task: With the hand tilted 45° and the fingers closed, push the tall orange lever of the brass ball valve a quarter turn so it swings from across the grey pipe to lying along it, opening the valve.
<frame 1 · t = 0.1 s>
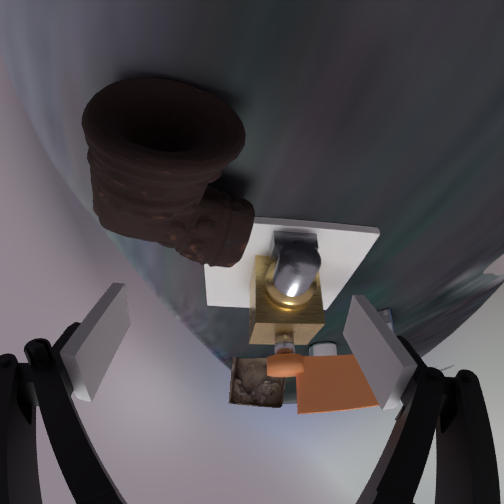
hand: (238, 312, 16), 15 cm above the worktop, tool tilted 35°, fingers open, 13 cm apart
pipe: (178, 161, 25), point 1 cm above the worktop
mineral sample: (259, 356, 82), on the worktop
mount board: (280, 266, 41), on the worktop
valve: (283, 311, 37), on the mount board, point 7 cm above the worktop
can: (322, 344, 73), on the worktop
lever: (336, 383, 32), point 17 cm above the worktop, hinge at 90.0°
label tape cartridge: (382, 315, 58), on the worktop
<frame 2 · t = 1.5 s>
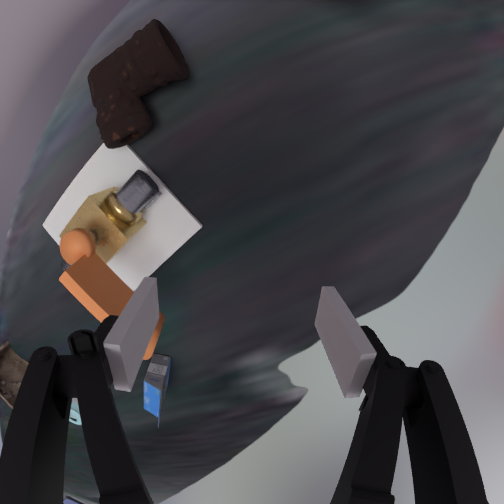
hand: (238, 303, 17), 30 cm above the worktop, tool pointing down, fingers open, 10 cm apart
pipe: (142, 88, 38), on the worktop, touching mount board
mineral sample: (27, 360, 55), on the worktop
mount board: (117, 219, 45), on the worktop
valve: (100, 230, 38), on the mount board, point 7 cm above the worktop
can: (89, 380, 57), on the worktop
lever: (104, 292, 31), point 17 cm above the worktop, hinge at 90.0°
label tape cartridge: (161, 368, 56), on the worktop
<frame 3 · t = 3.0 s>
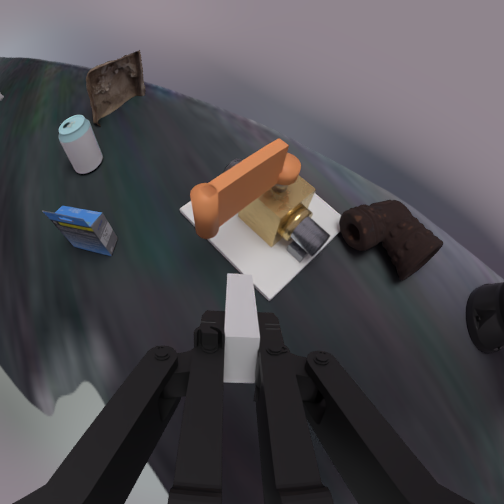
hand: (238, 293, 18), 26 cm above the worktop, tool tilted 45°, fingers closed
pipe: (382, 245, 51), on the worktop, touching mount board
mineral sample: (120, 108, 64), on the worktop
mount board: (269, 221, 52), on the worktop
valve: (275, 198, 46), on the mount board, point 7 cm above the worktop
can: (89, 164, 55), on the worktop
lever: (252, 179, 35), point 17 cm above the worktop, hinge at 90.0°
label tape cartridge: (95, 243, 47), on the worktop
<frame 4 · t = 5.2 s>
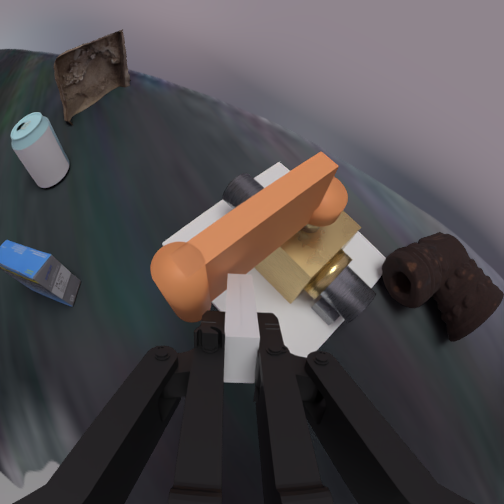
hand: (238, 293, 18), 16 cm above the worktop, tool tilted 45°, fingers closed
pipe: (429, 292, 37), on the worktop, touching mount board
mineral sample: (99, 102, 49), on the worktop
mount board: (288, 262, 37), on the worktop
valve: (300, 237, 31), on the mount board, point 7 cm above the worktop
can: (54, 174, 40), on the worktop
lever: (271, 223, 20), point 17 cm above the worktop, hinge at 88.7°, touching gripper
label tape cartridge: (54, 285, 33), on the worktop
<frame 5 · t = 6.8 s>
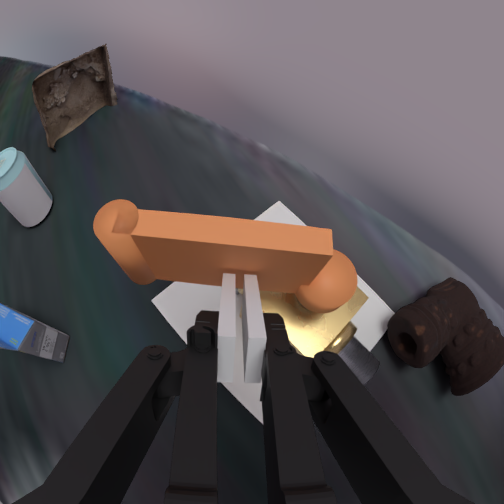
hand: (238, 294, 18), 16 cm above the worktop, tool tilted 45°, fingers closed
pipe: (435, 342, 33), on the worktop, touching mount board
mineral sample: (84, 124, 46), on the worktop
mount board: (287, 320, 34), on the worktop
valve: (301, 306, 28), on the mount board, point 7 cm above the worktop
can: (37, 210, 37), on the worktop
lever: (239, 258, 19), point 17 cm above the worktop, hinge at 42.6°, touching gripper
label tape cartridge: (43, 338, 30), on the worktop
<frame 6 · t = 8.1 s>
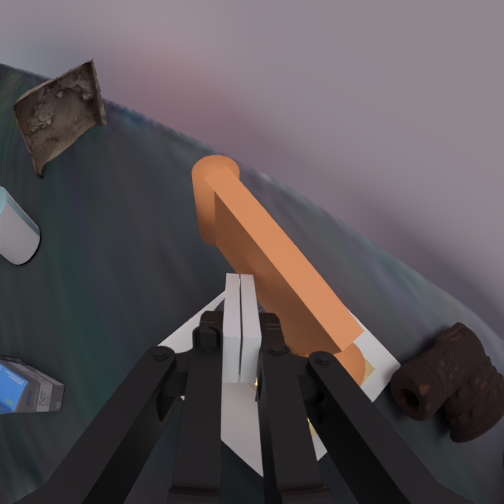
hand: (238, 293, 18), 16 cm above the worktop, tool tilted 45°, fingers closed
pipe: (437, 388, 31), on the worktop, touching mount board
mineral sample: (73, 146, 43), on the worktop
mount board: (288, 374, 31), on the worktop
valve: (303, 373, 25), on the mount board, point 7 cm above the worktop
can: (25, 245, 34), on the worktop
lever: (281, 287, 18), point 16 cm above the worktop, hinge at -6.5°
label tape cartridge: (39, 384, 27), on the worktop
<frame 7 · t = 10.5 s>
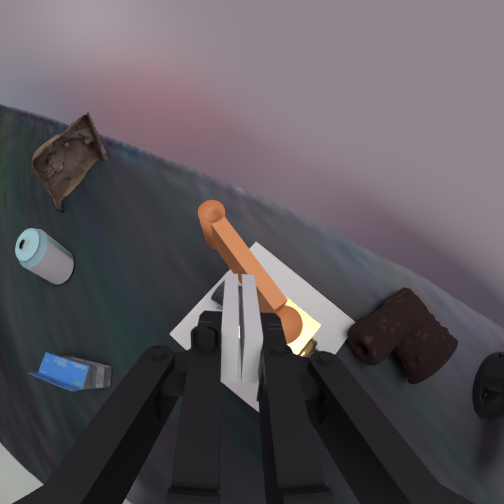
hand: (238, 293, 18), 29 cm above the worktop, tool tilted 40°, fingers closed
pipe: (393, 341, 45), on the worktop, touching mount board
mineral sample: (83, 182, 55), on the worktop
mount board: (270, 336, 45), on the worktop
valve: (275, 332, 39), on the mount board, point 7 cm above the worktop
can: (61, 268, 48), on the worktop
lever: (249, 275, 32), point 17 cm above the worktop, hinge at -13.8°
label tape cartridge: (90, 371, 42), on the worktop
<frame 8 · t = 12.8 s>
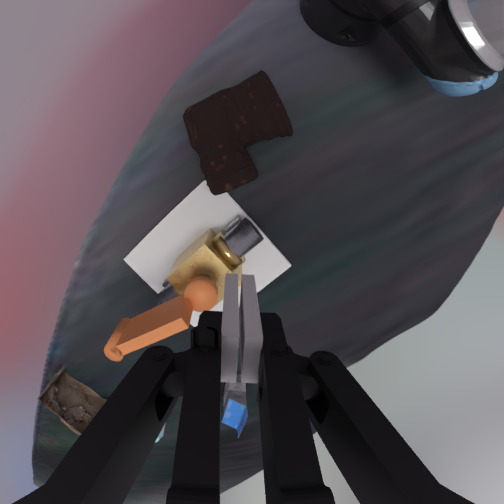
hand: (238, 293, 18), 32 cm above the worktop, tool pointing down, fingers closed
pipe: (238, 134, 45), on the worktop, touching mount board
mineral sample: (85, 383, 62), on the worktop
mount board: (209, 257, 52), on the worktop
valve: (205, 272, 45), on the mount board, point 7 cm above the worktop
lever: (158, 321, 37), point 17 cm above the worktop, hinge at -13.8°
label tape cartridge: (233, 384, 63), on the worktop
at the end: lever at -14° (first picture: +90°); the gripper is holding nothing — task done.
